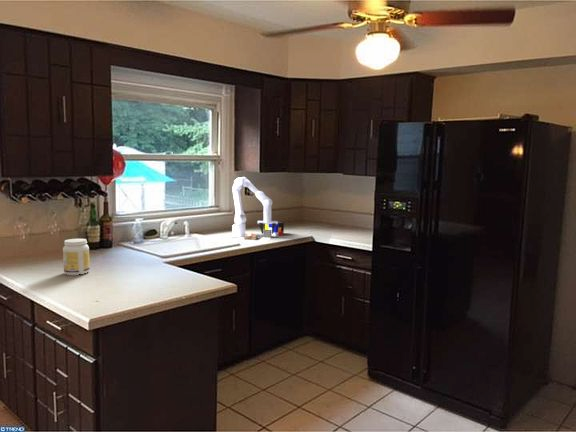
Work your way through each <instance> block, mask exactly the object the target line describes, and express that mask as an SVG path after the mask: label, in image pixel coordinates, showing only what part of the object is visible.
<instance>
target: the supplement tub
mask: <svg viewBox="0 0 576 432" xmlns="http://www.w3.org/2000/svg"><path fill="white" fill-rule="evenodd" d="M87 243H88V241H87V238H69V239H65V240H64V243H63V244H64V246H63V248H62V256H63V258H62V260H63V273H64V274H65V275H66V274H67V275H66V276H80V275H79V274H83V275H85V274H84V273H86V274H88V273H90V271H91V264H90V261H91V260H90V247H89V245H88V244H87ZM87 272H88V273H87Z"/></svg>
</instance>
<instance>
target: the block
mask: <svg viewBox="0 0 576 432" xmlns="http://www.w3.org/2000/svg"><path fill="white" fill-rule="evenodd" d="M262 235H263V237H262V238H270V239H271V238H272V235H271V230H265V229H263V234H262Z"/></svg>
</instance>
